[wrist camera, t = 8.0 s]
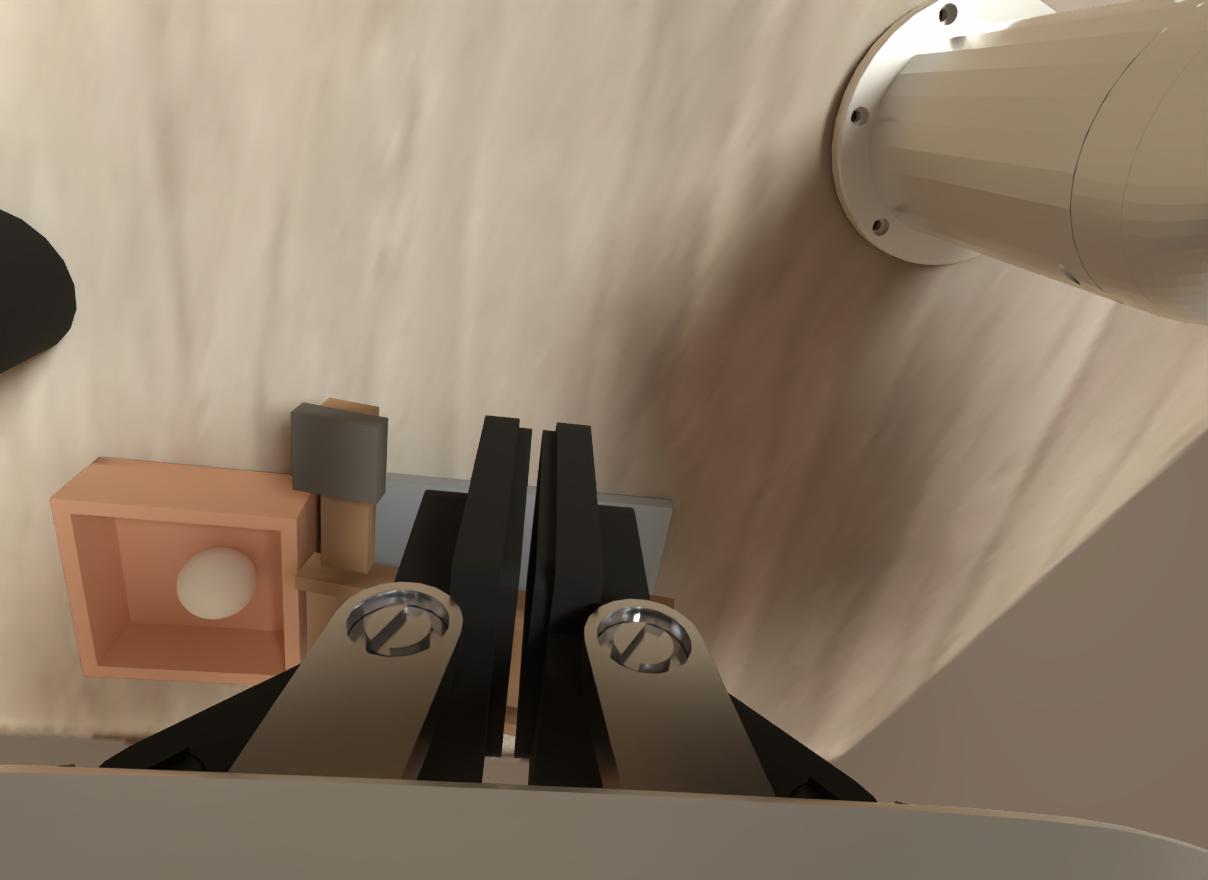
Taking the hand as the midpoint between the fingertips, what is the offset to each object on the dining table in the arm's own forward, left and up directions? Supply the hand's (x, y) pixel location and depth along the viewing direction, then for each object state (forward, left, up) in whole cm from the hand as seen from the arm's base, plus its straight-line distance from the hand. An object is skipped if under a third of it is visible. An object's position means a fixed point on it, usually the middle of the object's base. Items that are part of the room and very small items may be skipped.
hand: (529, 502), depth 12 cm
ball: (+15, +22, -25) cm, 36 cm away
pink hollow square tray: (+16, +22, -27) cm, 38 cm away
